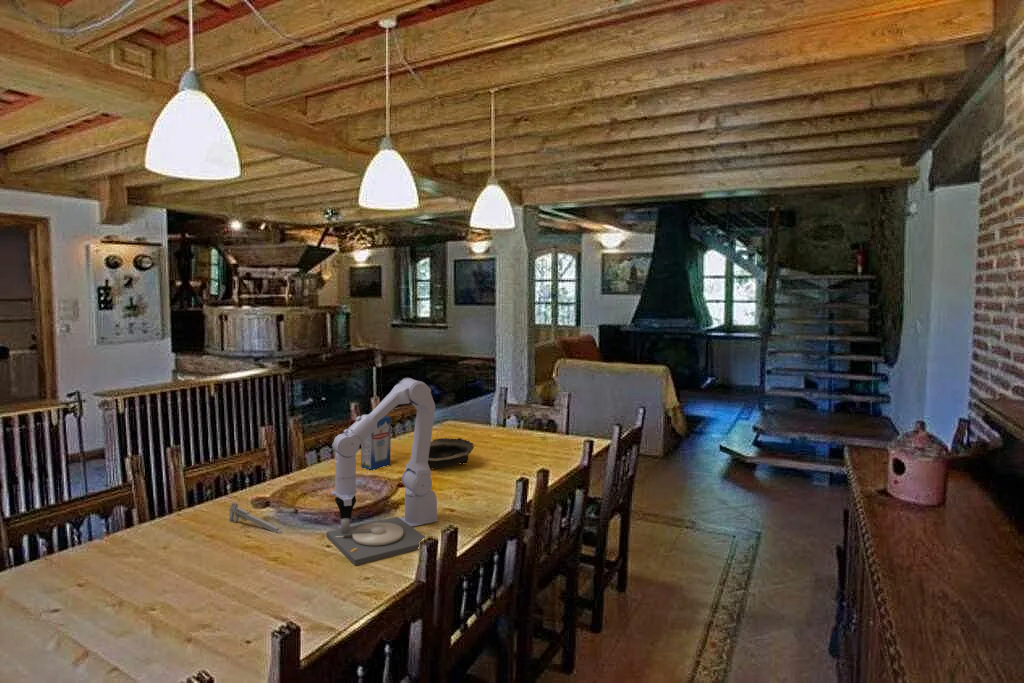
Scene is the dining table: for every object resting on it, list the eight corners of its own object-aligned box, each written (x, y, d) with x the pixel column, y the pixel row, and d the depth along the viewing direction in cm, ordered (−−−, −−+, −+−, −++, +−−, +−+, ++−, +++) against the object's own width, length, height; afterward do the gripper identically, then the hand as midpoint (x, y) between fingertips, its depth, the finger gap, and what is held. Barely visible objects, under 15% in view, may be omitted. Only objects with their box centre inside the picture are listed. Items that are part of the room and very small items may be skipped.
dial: (405, 525, 177) (405, 509, 176) (401, 545, 163) (401, 528, 163) (345, 526, 175) (345, 510, 175) (336, 546, 161) (336, 529, 161)
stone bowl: (478, 457, 258) (478, 437, 257) (468, 479, 233) (468, 456, 232) (421, 454, 260) (421, 433, 259) (406, 475, 236) (406, 453, 234)
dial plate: (397, 521, 185) (397, 515, 184) (431, 546, 167) (431, 540, 167) (326, 536, 172) (326, 531, 172) (354, 565, 154) (354, 559, 154)
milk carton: (371, 470, 237) (371, 420, 236) (361, 467, 241) (361, 418, 239) (390, 465, 245) (390, 416, 243) (380, 462, 249) (380, 414, 247)
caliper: (229, 522, 182) (228, 502, 182) (232, 521, 183) (231, 501, 183) (279, 534, 174) (279, 513, 173) (282, 533, 175) (282, 512, 174)
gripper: (329, 470, 177) (329, 515, 178) (332, 484, 164) (333, 533, 165) (353, 468, 180) (353, 512, 181) (359, 482, 166) (359, 530, 167)
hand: (345, 522), depth 173 cm, fingers closed
